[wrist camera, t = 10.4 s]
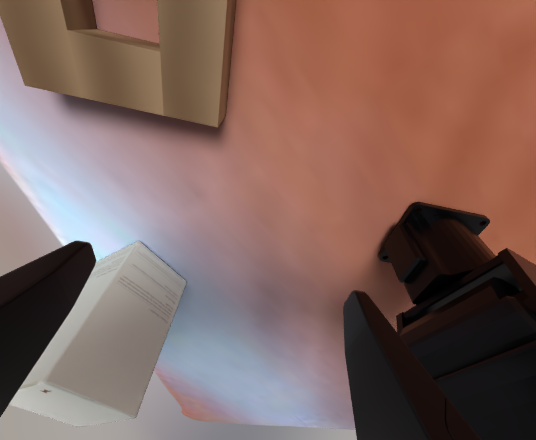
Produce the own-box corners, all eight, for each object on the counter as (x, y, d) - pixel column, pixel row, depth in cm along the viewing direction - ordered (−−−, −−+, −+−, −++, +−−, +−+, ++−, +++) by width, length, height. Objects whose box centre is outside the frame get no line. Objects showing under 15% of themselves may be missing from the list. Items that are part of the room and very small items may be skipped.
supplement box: (92, 261, 27) (-20, 398, 17) (140, 238, 25) (41, 383, 15) (143, 299, 31) (75, 429, 21) (190, 282, 29) (137, 422, 19)
